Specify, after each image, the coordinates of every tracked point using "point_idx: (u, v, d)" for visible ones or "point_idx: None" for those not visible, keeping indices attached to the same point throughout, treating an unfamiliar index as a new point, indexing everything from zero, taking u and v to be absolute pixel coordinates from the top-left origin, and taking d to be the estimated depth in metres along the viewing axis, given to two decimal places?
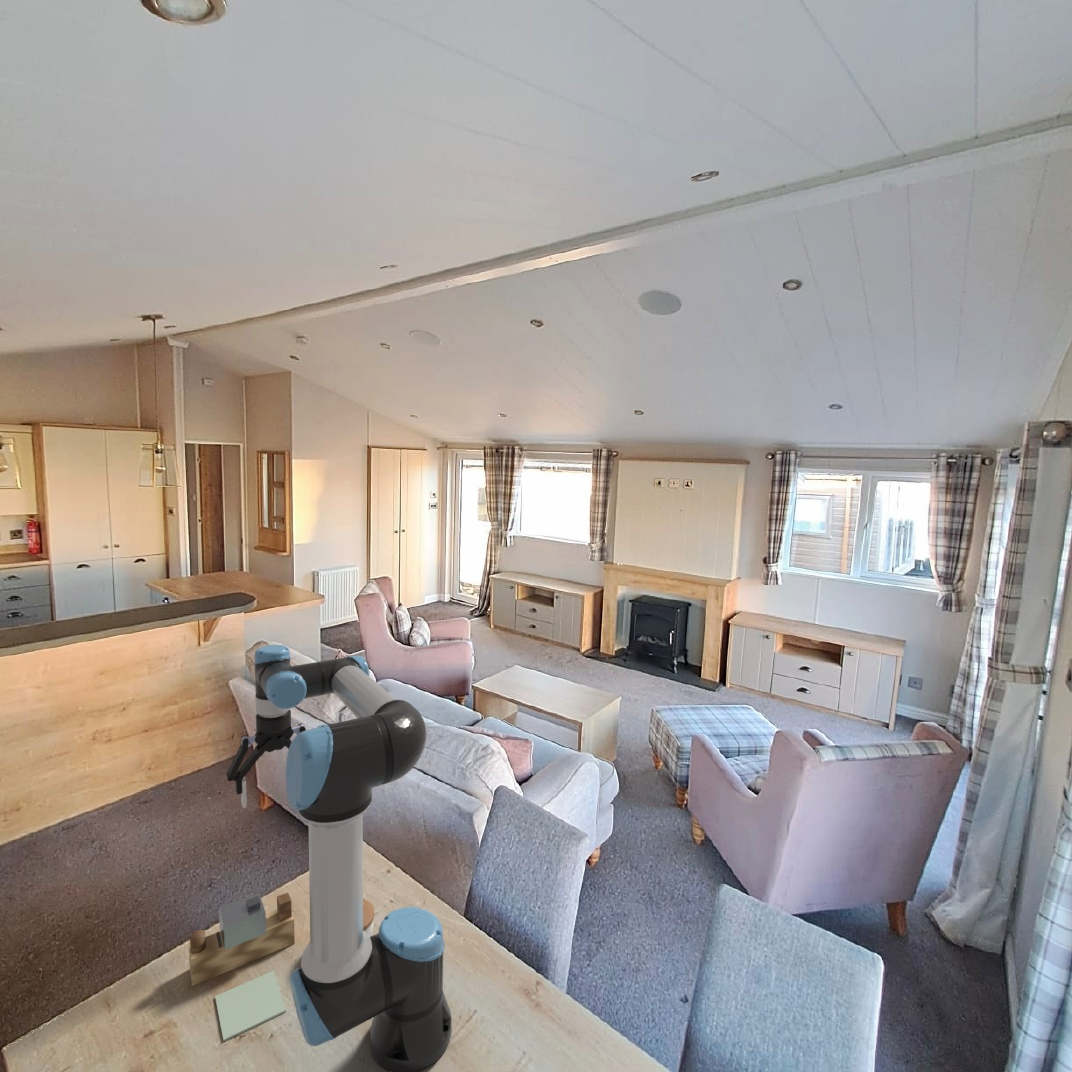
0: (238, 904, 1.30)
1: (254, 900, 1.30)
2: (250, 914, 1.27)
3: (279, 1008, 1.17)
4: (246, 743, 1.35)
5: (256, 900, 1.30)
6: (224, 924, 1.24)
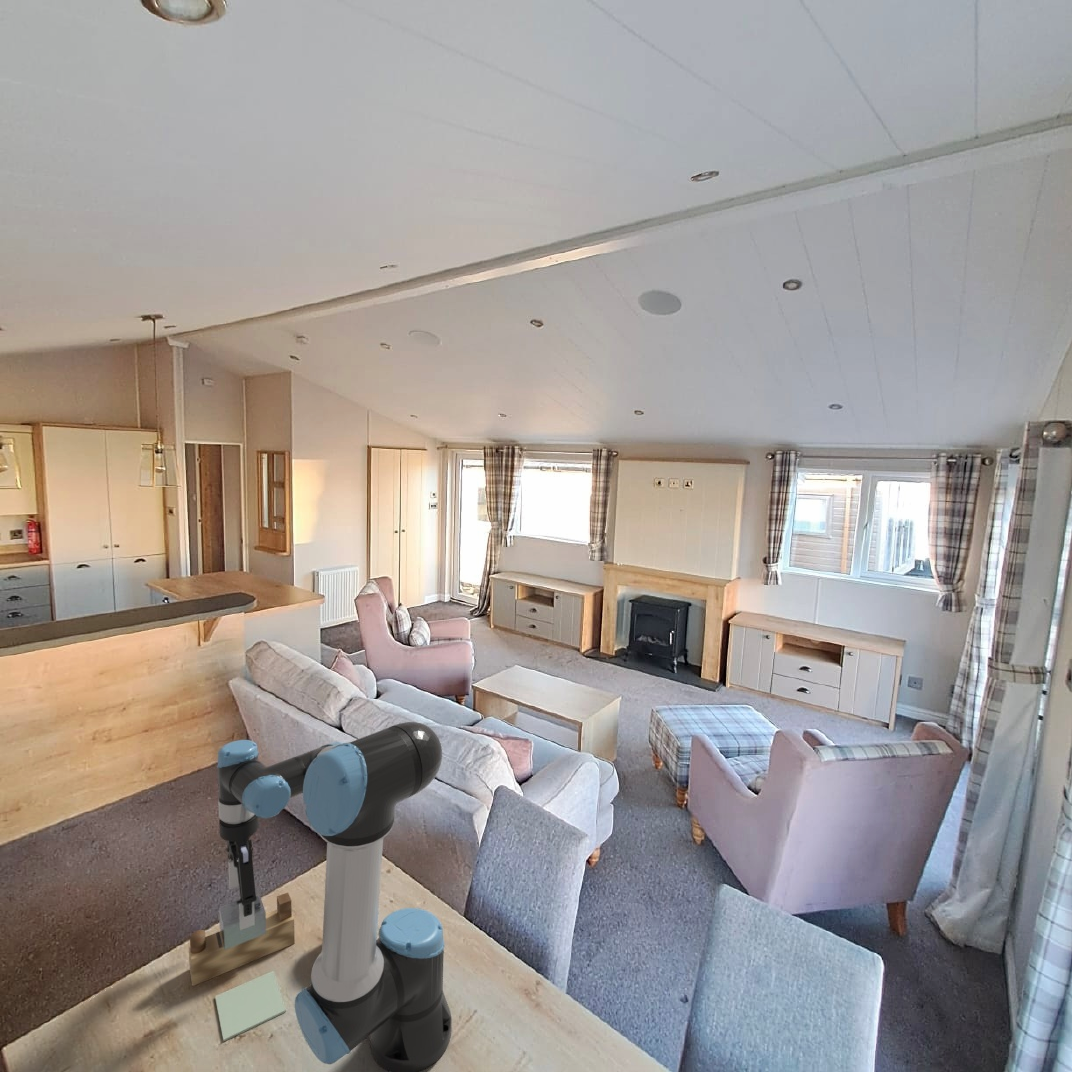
0: (238, 904, 1.30)
1: None
2: None
3: (279, 1008, 1.17)
4: None
5: (256, 900, 1.30)
6: (224, 924, 1.24)
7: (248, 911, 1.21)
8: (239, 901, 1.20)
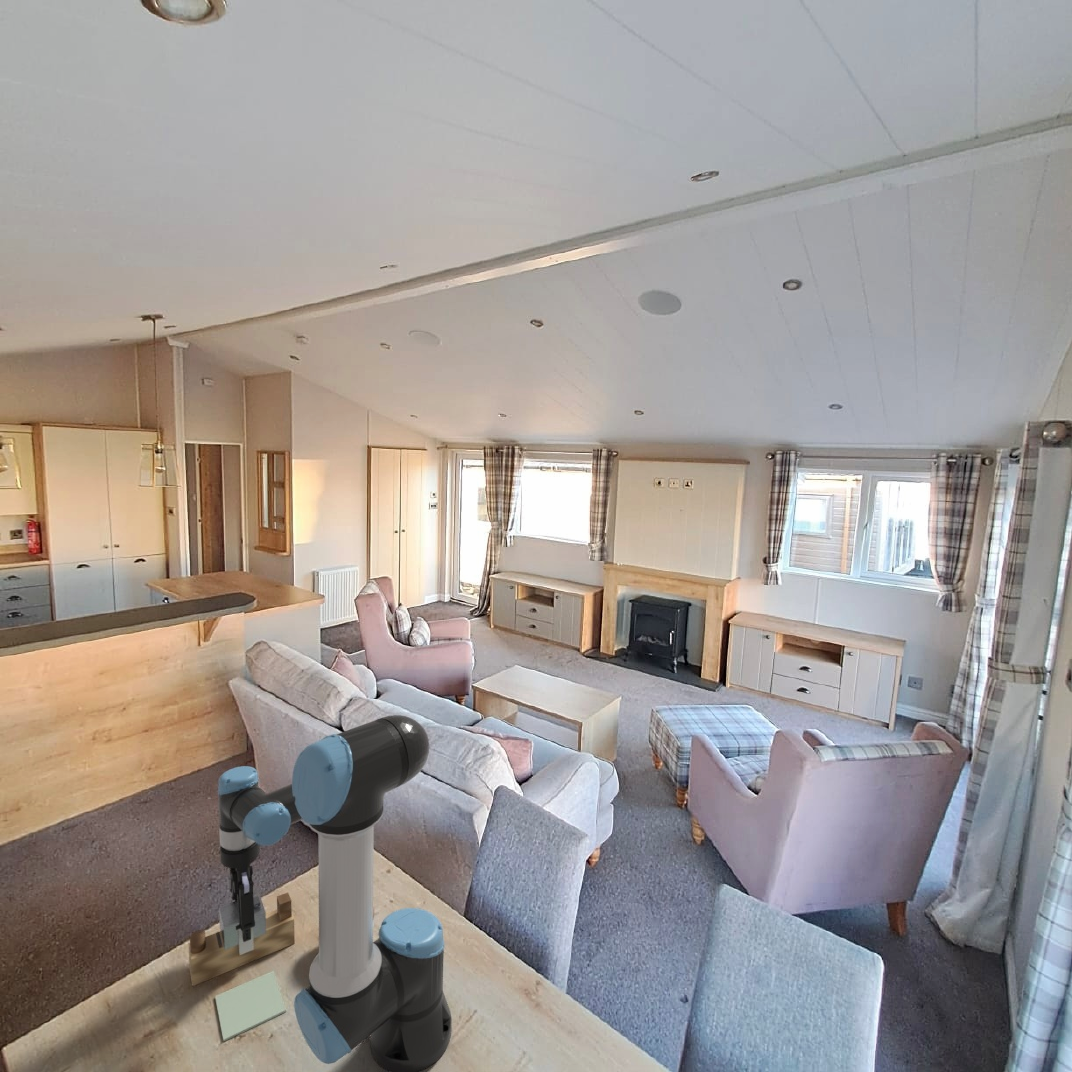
0: None
1: (254, 900, 1.30)
2: None
3: (279, 1008, 1.17)
4: None
5: (256, 900, 1.30)
6: (224, 924, 1.24)
7: (247, 936, 1.24)
8: (238, 928, 1.23)
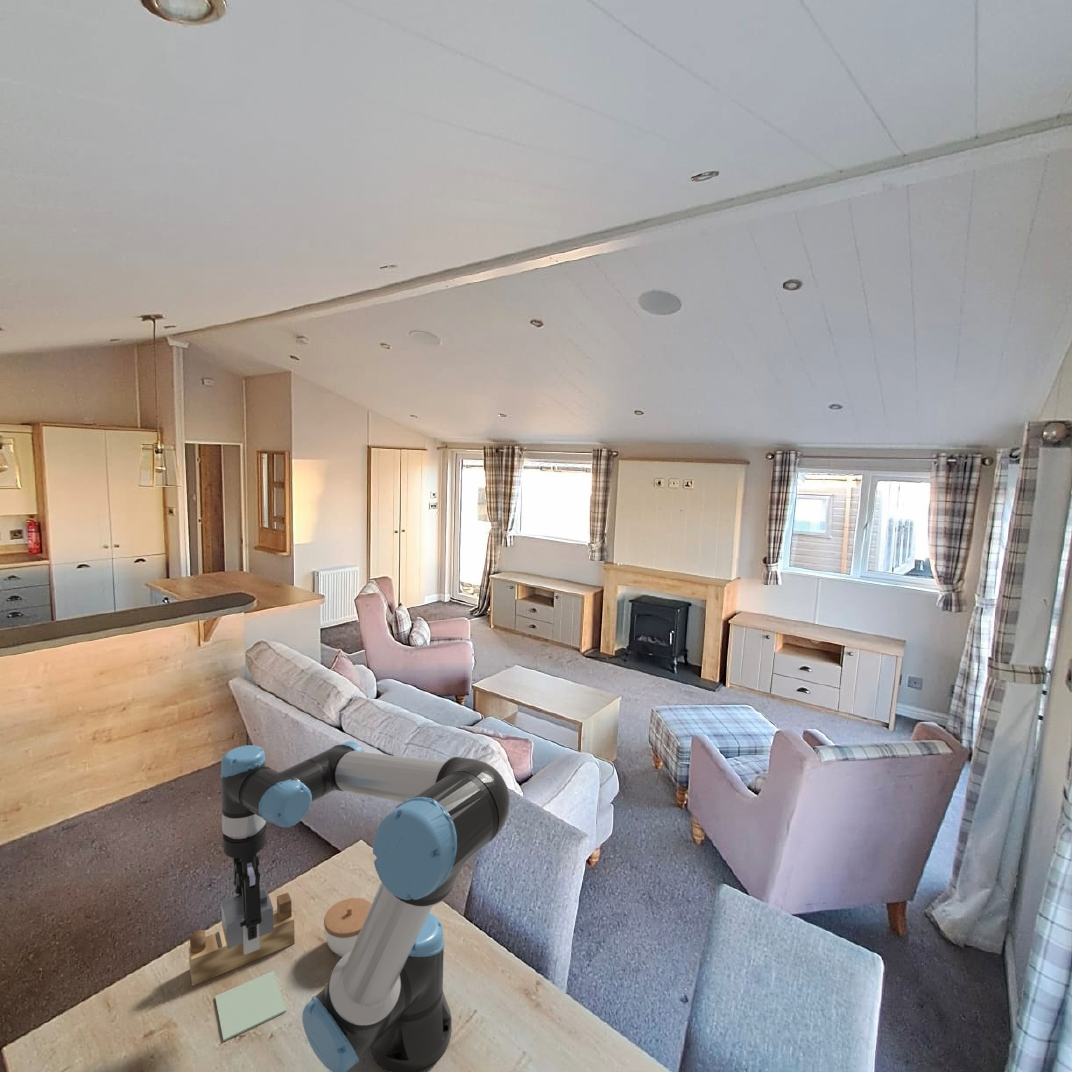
0: None
1: (260, 894, 1.17)
2: None
3: (279, 1008, 1.17)
4: None
5: (262, 894, 1.17)
6: (227, 920, 1.11)
7: (253, 934, 1.12)
8: (243, 924, 1.10)
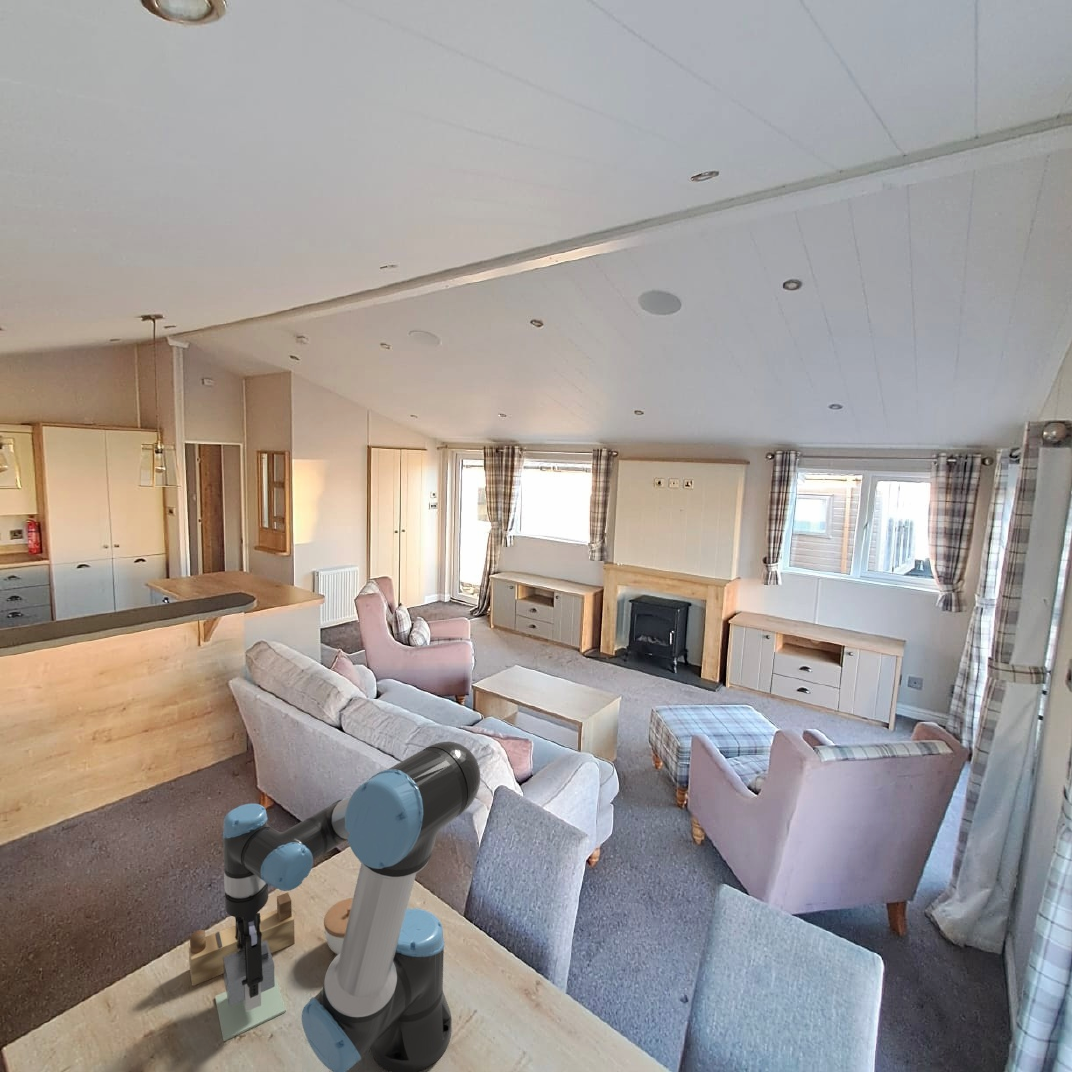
0: (243, 953, 1.18)
1: (261, 949, 1.18)
2: None
3: (279, 1008, 1.17)
4: None
5: (264, 949, 1.18)
6: (229, 978, 1.13)
7: (254, 992, 1.13)
8: (245, 983, 1.12)
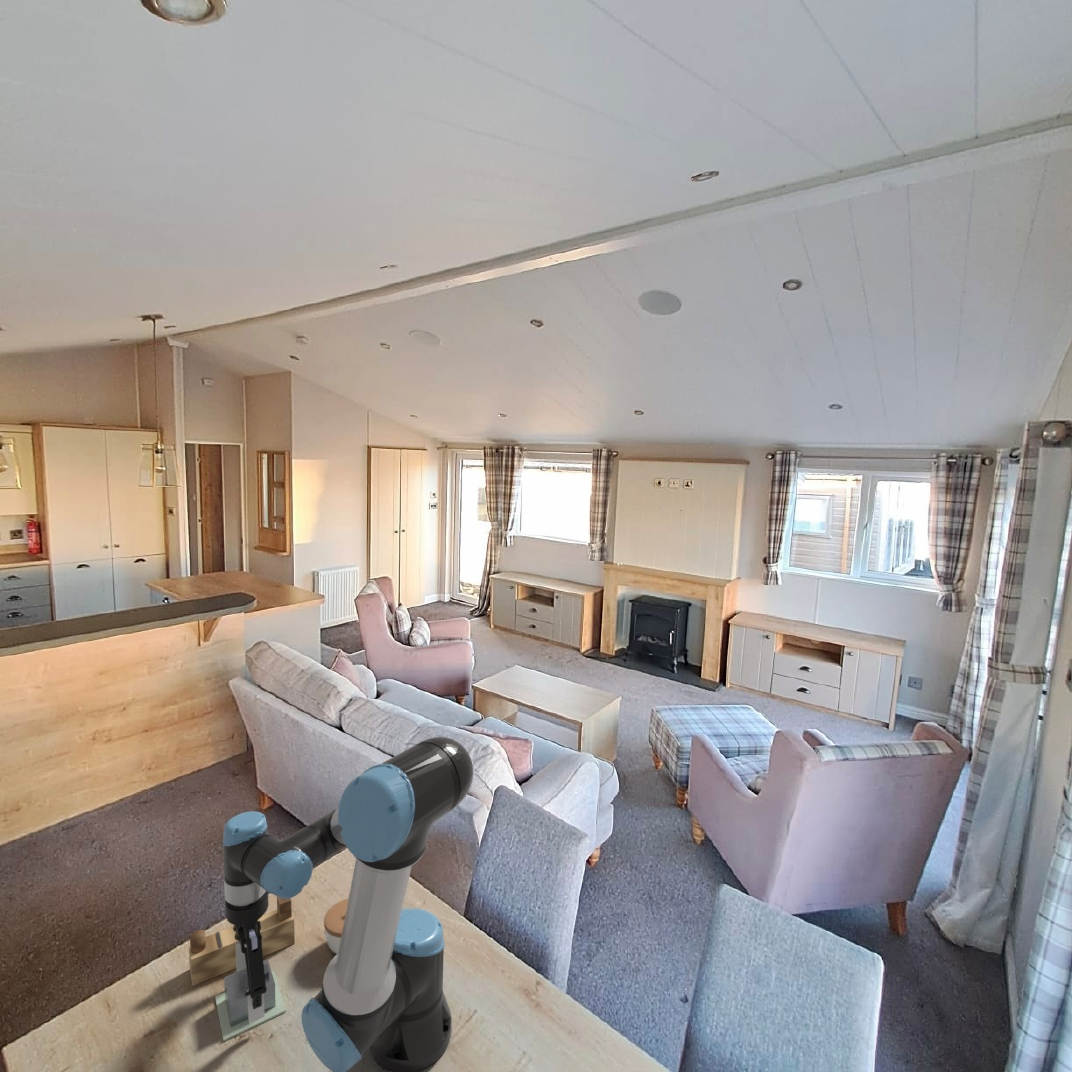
0: (244, 973, 1.19)
1: None
2: None
3: (279, 1008, 1.17)
4: None
5: (265, 969, 1.19)
6: (230, 999, 1.13)
7: (257, 1003, 1.11)
8: (248, 993, 1.09)
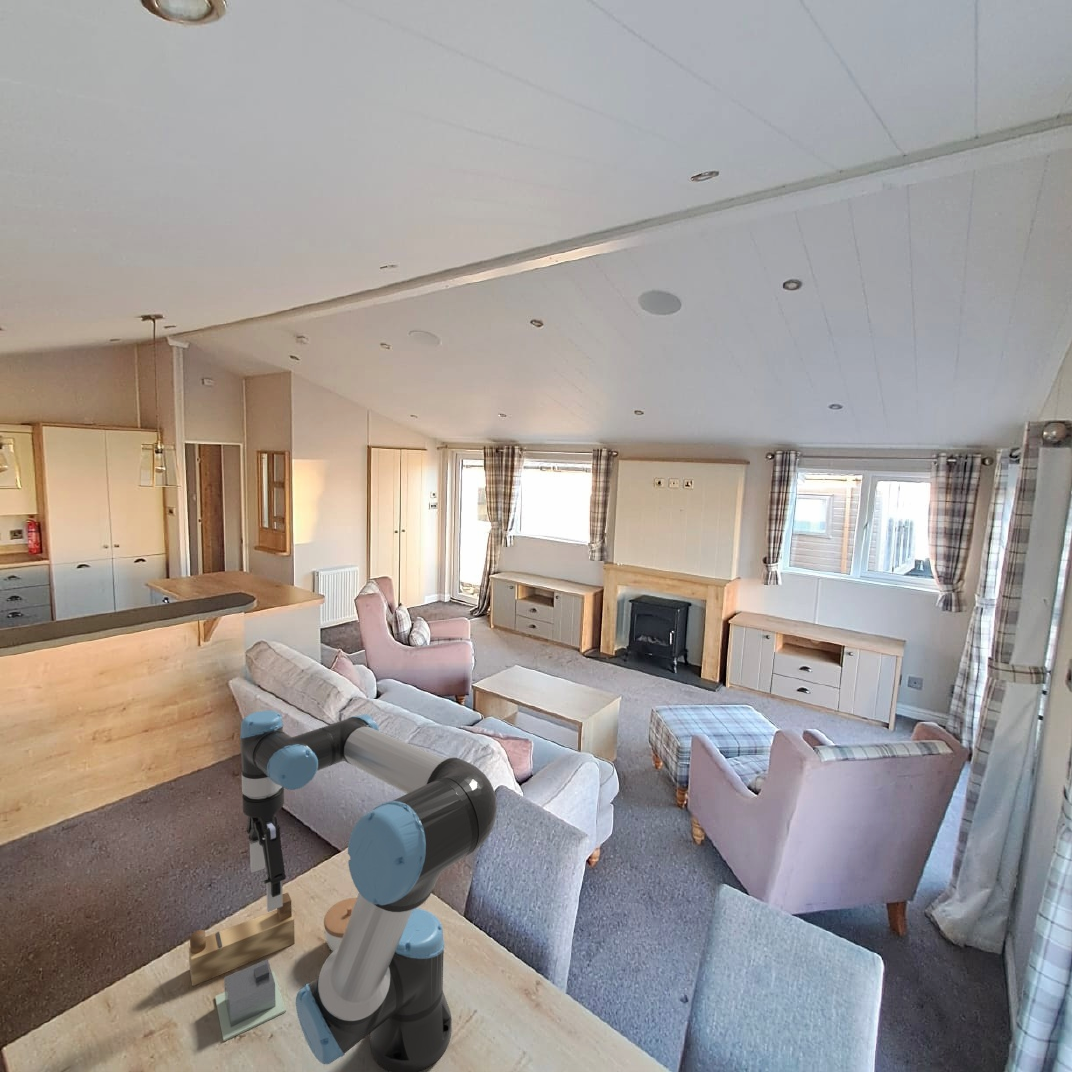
0: (244, 973, 1.19)
1: (262, 969, 1.19)
2: (258, 985, 1.16)
3: (279, 1008, 1.17)
4: None
5: (265, 969, 1.19)
6: (230, 999, 1.13)
7: (276, 891, 1.14)
8: (267, 880, 1.13)
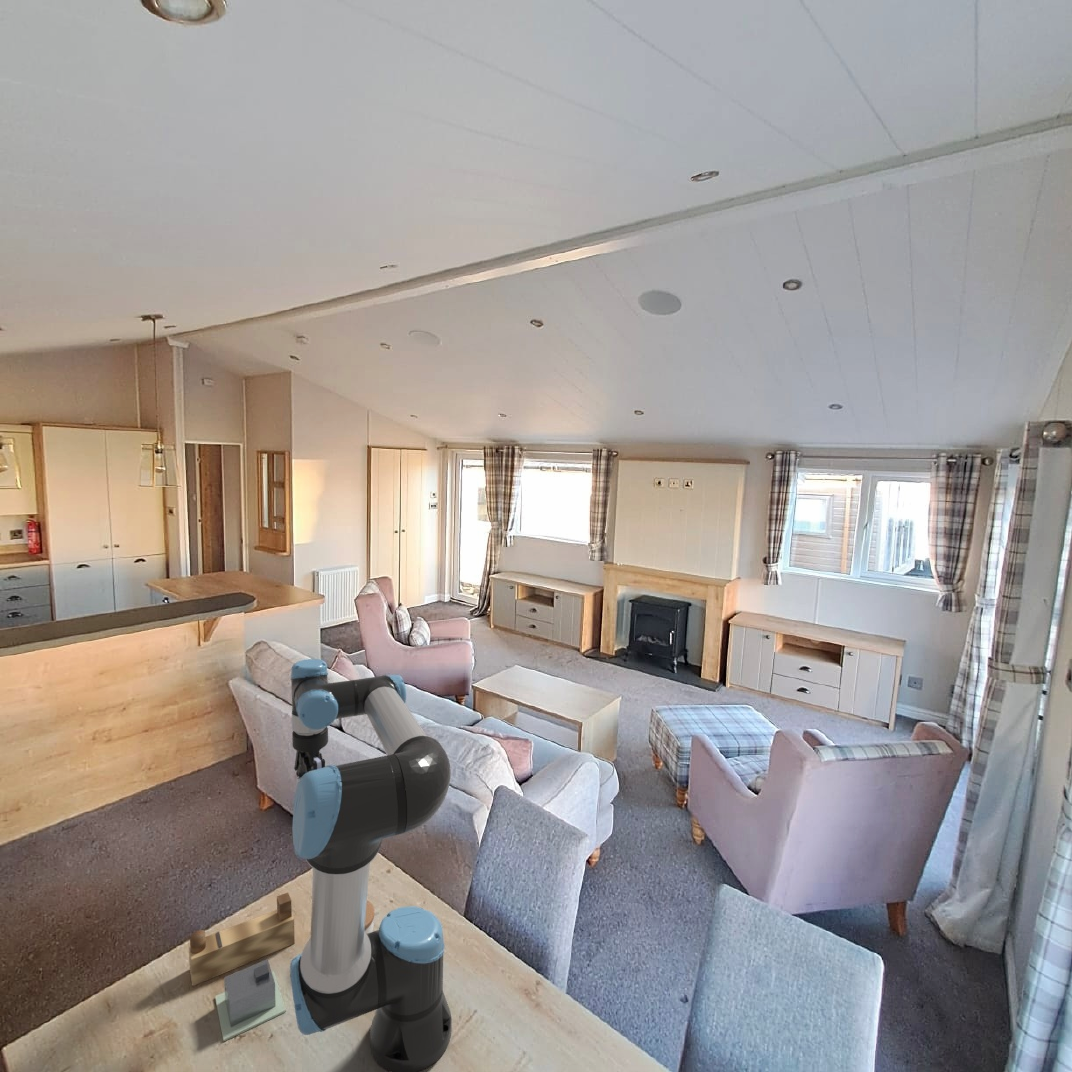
0: (244, 973, 1.19)
1: (262, 969, 1.19)
2: (258, 985, 1.16)
3: (279, 1008, 1.17)
4: None
5: (265, 969, 1.19)
6: (230, 999, 1.13)
7: None
8: None
